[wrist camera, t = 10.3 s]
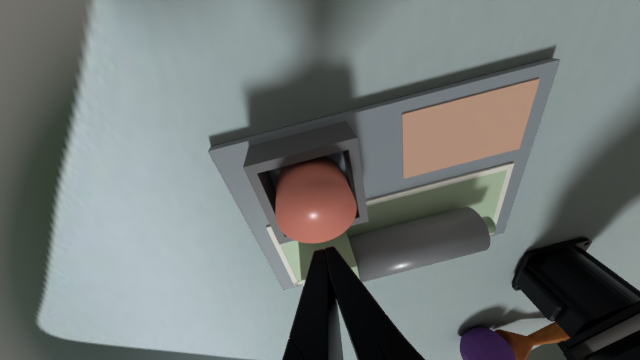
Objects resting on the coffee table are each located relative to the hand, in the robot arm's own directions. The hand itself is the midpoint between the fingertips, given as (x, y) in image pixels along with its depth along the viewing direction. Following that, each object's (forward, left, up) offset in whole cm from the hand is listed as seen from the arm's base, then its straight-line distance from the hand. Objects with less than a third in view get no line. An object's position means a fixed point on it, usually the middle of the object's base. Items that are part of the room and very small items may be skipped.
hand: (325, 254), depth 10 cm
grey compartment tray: (-5, +4, -7) cm, 9 cm away
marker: (-5, +7, -6) cm, 10 cm away
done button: (0, 0, -5) cm, 5 cm away
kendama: (-23, +34, -7) cm, 41 cm away
